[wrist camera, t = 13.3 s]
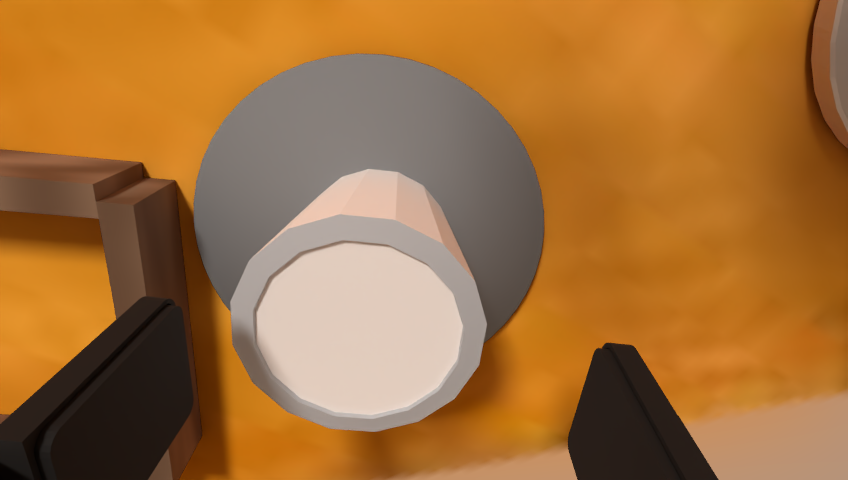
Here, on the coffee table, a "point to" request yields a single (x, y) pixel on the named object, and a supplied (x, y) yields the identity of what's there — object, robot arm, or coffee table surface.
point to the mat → (372, 167)
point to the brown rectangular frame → (116, 242)
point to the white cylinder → (361, 308)
